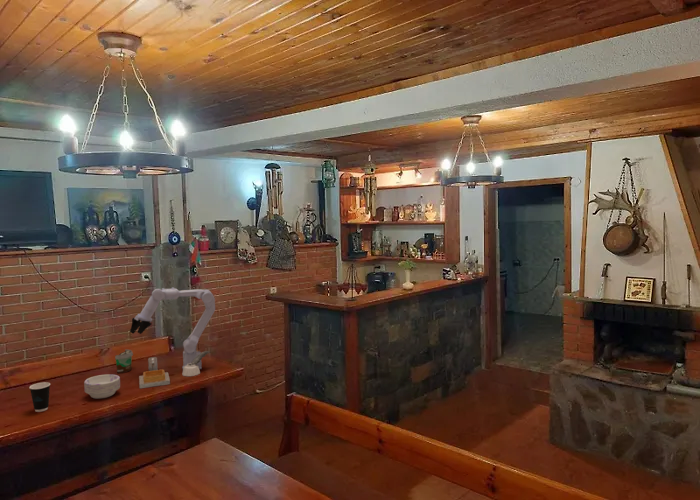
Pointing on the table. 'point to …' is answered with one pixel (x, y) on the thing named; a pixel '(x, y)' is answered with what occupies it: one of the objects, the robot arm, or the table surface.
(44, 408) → the dixie cup
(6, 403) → the table surface
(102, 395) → the paper bowls
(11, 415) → the table surface
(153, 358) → the spout can
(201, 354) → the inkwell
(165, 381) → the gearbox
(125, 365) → the food container
